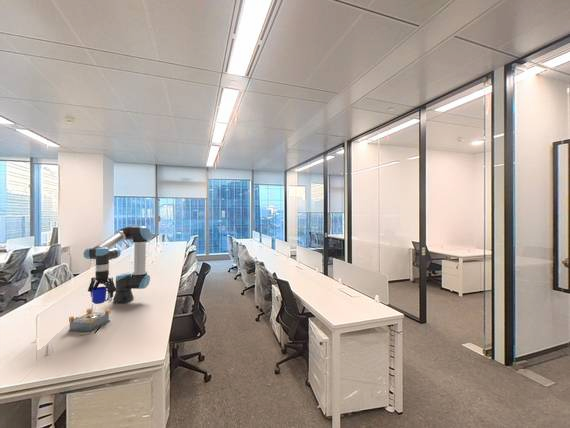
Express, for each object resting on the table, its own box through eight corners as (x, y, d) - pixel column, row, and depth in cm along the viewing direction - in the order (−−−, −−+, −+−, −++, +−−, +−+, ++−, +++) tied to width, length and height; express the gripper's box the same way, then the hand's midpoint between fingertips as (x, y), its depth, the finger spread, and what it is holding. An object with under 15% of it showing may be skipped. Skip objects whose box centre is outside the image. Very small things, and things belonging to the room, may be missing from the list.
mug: (104, 305, 172) (104, 290, 172) (88, 304, 174) (88, 289, 174) (114, 301, 180) (114, 287, 180) (99, 300, 182) (99, 286, 182)
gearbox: (87, 320, 184) (87, 308, 183) (110, 321, 182) (110, 309, 182) (64, 331, 166) (64, 318, 166) (90, 332, 165) (90, 319, 165)
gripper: (81, 271, 174) (80, 303, 174) (114, 271, 173) (114, 304, 173) (90, 268, 182) (89, 299, 182) (122, 269, 180) (122, 300, 180)
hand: (101, 301), depth 177 cm, fingers closed on mug, 11 cm apart
